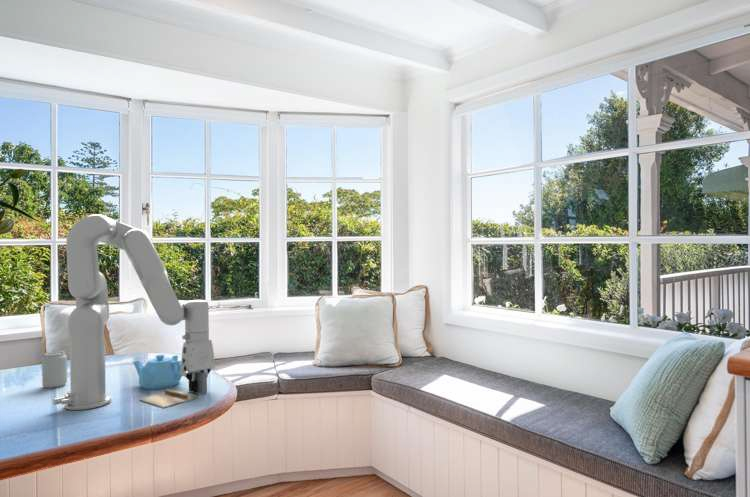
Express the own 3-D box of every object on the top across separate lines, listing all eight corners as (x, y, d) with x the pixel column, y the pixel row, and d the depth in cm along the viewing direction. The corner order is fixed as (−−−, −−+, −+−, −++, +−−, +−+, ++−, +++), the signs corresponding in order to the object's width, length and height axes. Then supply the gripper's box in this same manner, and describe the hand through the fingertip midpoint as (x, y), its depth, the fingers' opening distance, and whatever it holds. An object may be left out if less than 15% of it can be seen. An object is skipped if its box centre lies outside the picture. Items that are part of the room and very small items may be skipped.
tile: (202, 394, 161) (202, 373, 161) (188, 391, 165) (188, 370, 165) (207, 393, 162) (206, 372, 162) (193, 389, 167) (192, 369, 167)
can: (37, 387, 172) (37, 353, 172) (59, 382, 179) (59, 349, 179) (49, 389, 169) (49, 355, 169) (71, 384, 175) (71, 351, 175)
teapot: (139, 393, 163) (139, 362, 163) (133, 383, 175) (133, 354, 175) (186, 386, 171) (186, 356, 171) (177, 377, 184) (177, 349, 184)
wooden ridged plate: (163, 408, 147) (163, 403, 147) (139, 400, 155) (139, 395, 155) (197, 398, 157) (197, 393, 157) (173, 391, 165) (173, 386, 165)
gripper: (181, 341, 155) (182, 398, 155) (224, 333, 168) (224, 386, 168) (168, 339, 159) (169, 394, 159) (210, 332, 172) (211, 383, 172)
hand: (197, 390), depth 164 cm, fingers open, 2 cm apart
